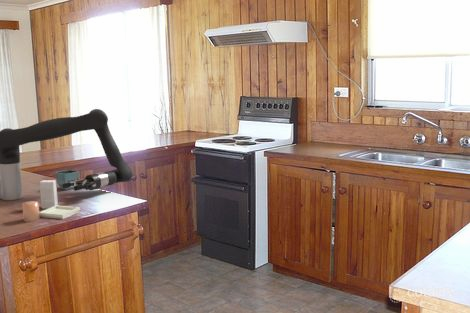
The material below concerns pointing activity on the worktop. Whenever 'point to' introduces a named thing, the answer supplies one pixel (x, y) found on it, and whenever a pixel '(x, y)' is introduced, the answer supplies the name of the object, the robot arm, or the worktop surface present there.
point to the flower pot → (66, 177)
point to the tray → (59, 212)
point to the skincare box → (48, 193)
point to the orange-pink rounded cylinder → (31, 211)
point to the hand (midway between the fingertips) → (68, 187)
